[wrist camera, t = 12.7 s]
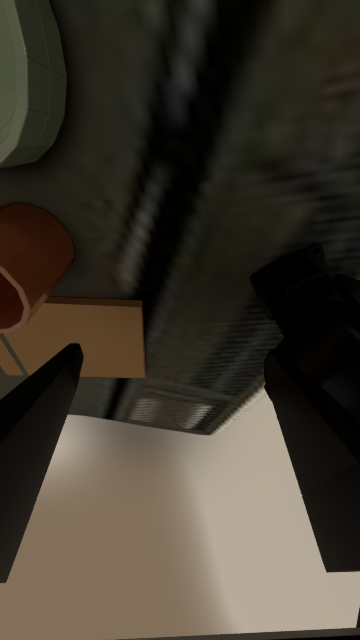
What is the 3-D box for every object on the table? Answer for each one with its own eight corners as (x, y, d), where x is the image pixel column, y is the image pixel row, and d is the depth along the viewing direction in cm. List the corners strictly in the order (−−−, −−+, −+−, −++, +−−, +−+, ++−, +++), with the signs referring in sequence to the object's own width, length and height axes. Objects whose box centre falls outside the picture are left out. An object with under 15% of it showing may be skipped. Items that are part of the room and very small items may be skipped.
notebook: (145, 370, 31) (145, 378, 30) (12, 367, 30) (6, 375, 29) (142, 299, 23) (140, 307, 22) (-39, 291, 22) (-49, 298, 21)
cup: (90, 254, 20) (52, 307, 14) (42, 287, 22) (-9, 346, 16) (25, 183, 16) (-66, 212, 10) (-24, 231, 18) (-125, 278, 12)
